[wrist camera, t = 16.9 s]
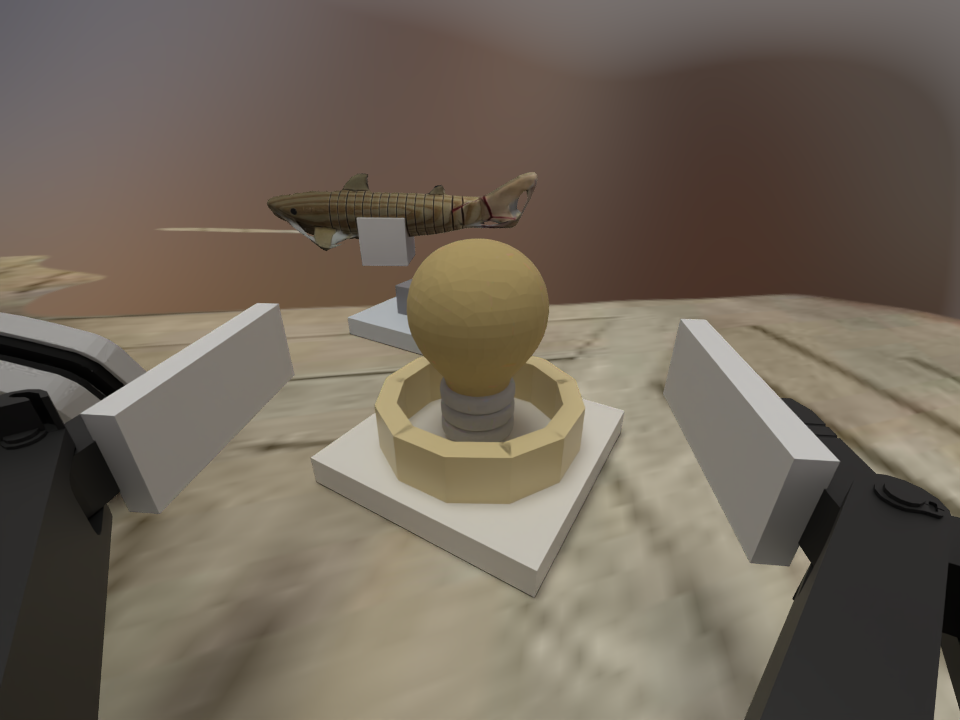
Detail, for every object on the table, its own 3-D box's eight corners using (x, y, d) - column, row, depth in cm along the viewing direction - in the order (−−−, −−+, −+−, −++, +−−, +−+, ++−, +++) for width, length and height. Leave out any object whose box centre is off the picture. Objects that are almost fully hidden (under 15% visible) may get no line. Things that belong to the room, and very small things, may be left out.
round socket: (316, 481, 22) (301, 415, 20) (451, 379, 31) (449, 327, 29) (534, 597, 16) (541, 521, 15) (620, 432, 26) (631, 372, 24)
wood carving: (535, 270, 56) (541, 175, 51) (265, 267, 57) (244, 174, 52) (530, 253, 64) (535, 169, 59) (293, 250, 65) (277, 168, 60)
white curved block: (228, 424, 26) (123, 291, 19) (185, 498, 23) (38, 374, 16) (-21, 407, 28) (-207, 279, 20) (-94, 475, 25) (-346, 352, 17)
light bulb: (557, 463, 21) (580, 254, 16) (424, 484, 20) (407, 264, 15) (517, 394, 26) (525, 223, 22) (411, 407, 25) (396, 229, 21)
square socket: (350, 333, 38) (343, 289, 36) (432, 294, 47) (430, 257, 45) (466, 367, 33) (465, 317, 31) (533, 316, 42) (536, 275, 40)
